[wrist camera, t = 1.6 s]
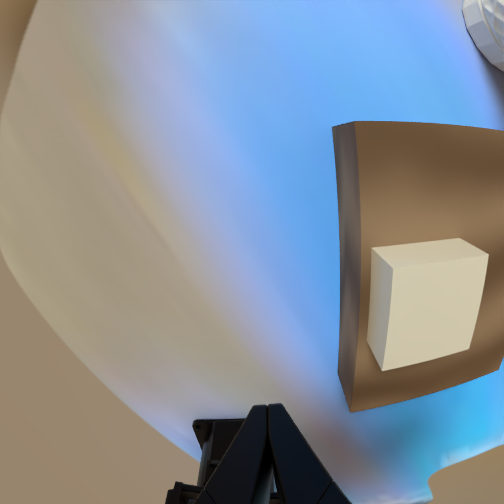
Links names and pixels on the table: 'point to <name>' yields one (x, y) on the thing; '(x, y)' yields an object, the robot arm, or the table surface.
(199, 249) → the table surface
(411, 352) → the tile
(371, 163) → the plate
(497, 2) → the white cup
